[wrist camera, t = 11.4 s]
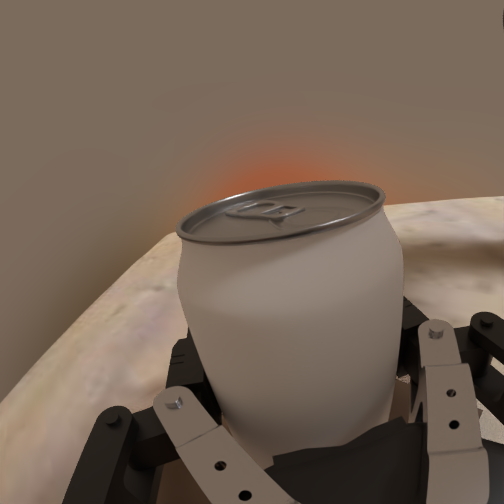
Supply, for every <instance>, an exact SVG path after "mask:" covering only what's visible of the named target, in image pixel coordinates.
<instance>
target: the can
mask: <svg viewBox="0 0 504 504" xmlns="http://www.w3.org/2000/svg"><path fill="white" fill-rule="evenodd" d="M385 198H386V197H385V193H384V191H383V190H382V189H381V188H379V187H377V186H375V185H372V184H368V183H363V182H356V181H338V180H335V181H334V180H333V181H311V182H301V183H293V184H286V185H279V186H273V187H268V188H263V189H259V190H254V191H249V192H245V193H241V194H238V195H234V196H231V197H228V198H224V199H221V200H218V201H216V202H213V203H210V204H208V205H205V206H203V207H201V208H199V209H197V210H195V211H193V212H191V213H189V214H187V215H186V216H185V217H183V218H182V219H181V220H180V221H179V222H178V223H177V225H176V233H177V235H178V236H179V237H180V238H181V239H182V252H181V258H180V263H179V269H178V277H177V288H178V293H179V298H180V301H181V305H182V308H183V311H184V314H185V318H186V321H187V323H188V326H189V329H190V332H191V335H192V338H193V341H194V343H195V346H196V349H197V352H198V354H199V357H200V360H201V362H202V365H203V367H204V370H205V372H206V375H207V378H208V380H209V383H210V385H211V388H212V390H213V392H214V395H215V397H216V400H217V402H218V404H219V407H220V409H221V411H222V414H223V416H224V418H225V421H226V423H227V425H228V427H229V430H230V432H231V434H232V436H233V438H234V439H235V440H236V441H237V443H238V444H239V445H240V446H241V447H242V448H243V449H244V450H245V451H246V452H247V454H248V455H249V456H250V457H251V458H252V459H253V460H254V461H255V462H256V463H257V464H258V465H259V466H260V467H261V468H262V469H263V470H264V469H266V468H268V467H270V466H272V465H274V463H273V458H272V456H275V455H280V454H284V453H289V452H293V451H297V450H301V449H305V448H319V447H332V446H341V445H344V444H346V443H348V442H350V441H351V440H353V439H355V438H357V437H358V436H360V435H361V434H363V433H365V432H366V431H368V430H369V429H371V428H373V427H375V426H378V425H380V424H383V423H385V422H388V418H389V414H390V408H391V403H392V398H393V392H394V386H395V379H396V372H397V365H398V357H399V348H400V338H401V327H402V313H403V289H404V264H403V253H402V248H401V245H400V242H399V240H398V238H397V236H396V234H395V232H394V230H393V228H392V226H391V224H390V222H389V221H388V219H387V217H386V215H385V212H384V209H383V204H384V202H385Z"/></svg>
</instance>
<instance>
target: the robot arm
mask: <svg viewBox="0 0 504 504" xmlns="http://www.w3.org/2000/svg"><path fill="white" fill-rule="evenodd" d="M503 26H504V13H503ZM493 357H494V358H496V359H497V360H498V361H499V362H501V363H502V364H503V365H504V320H503V319H502V318H500V317H499V316H497V315H495V314H493V313H490V312H479V313H476V314H474V315H473V316H472V318H471V321H470V326H466V327H460V328H453V327H452V326H451V325H450V324H449V323H447V322H445V321H443V320H429V319H428V318H427V317H426V316H425V315H424V314H423V313H422V312H421V311H420V310H419V309H418V308H417V307H415V306H414V305H413V304H412V303H411V302H410V301H409V300H407V298H405V297H404V296H403V313H402V327H401V338H400V348H399V357H398V365H397V372H396V375H397V376H398V378H400V377H402V376H405V375H407V374H409V376H410V377H411V378H410V384H409V421H408V423H406V422H405V420H404V419H403V417H402V416H400V417H398V418H395V419H393V420H390V421H388V422H385V423H383V424H380V425H378V426H375V427H373V428H371V429H369V430H368V431H366V432H365V433H363V434H361V435H360V436H358V437H357V438H355V439H353V440H351V441H350V442H348V443H346V444H344V445H341V446H332V447H319V448H305V449H301V450H297V451H293V452H289V453H284V454H280V455H275V456H272V458H273V463H274V465H272V466H270V467H268V468H266V469H264V470H263V469H262V468H261V467H260V466H259V465H258V464H257V463H256V462H255V461H254V460H253V459H252V458H251V457H250V456H249V455H248V454H247V452H246V451H245V450H244V449H243V448H242V447H241V446H240V445H239V444H238V443H237V441H236V440H235V439H234V438H233V437H232V436H231V435H230V434H229V432H228V431H227V430H226V429H225V428H224V427H223V426H222V411H221V409H220V407H219V404H218V402H217V400H216V397H215V395H214V392H213V390H212V388H211V385H210V383H209V380H208V378H207V375H206V372H205V370H204V367H203V365H202V362H201V360H200V357H199V354H198V352H197V349H196V346H195V343H194V341H193V338H192V335H191V332H190V329H189V326H188V333H187V338H184V339H179V340H178V341H177V343H176V344H175V345H174V347H173V349H172V354H171V360H170V365H169V371H168V376H167V382H166V388H165V390H163V391H162V392H160V393H159V394H158V395H157V396H156V398H155V399H154V402H153V406H152V407H150V408H148V409H145V410H142V411H139V412H136V413H133V414H132V413H131V412H130V410H129V409H128V408H126V407H123V406H113V407H110V408H108V409H106V410H104V411H103V412H102V413H101V414H100V415H99V416H98V418H97V420H96V422H95V424H94V426H93V429H92V431H91V433H90V435H89V438H88V440H87V442H86V445H85V447H84V449H83V452H82V454H81V456H80V459H79V461H78V464H77V466H76V469H75V471H74V474H73V476H72V479H71V481H70V484H69V486H68V489H67V491H66V494H65V497H64V499H63V502H62V504H156V501H157V496H158V491H159V486H160V481H161V477H162V472H163V467H164V464H166V463H169V462H172V461H175V460H178V459H180V458H181V459H182V461H183V462H184V464H185V465H186V467H187V468H188V470H189V471H190V473H191V474H192V476H193V477H194V479H195V480H196V482H197V483H198V485H199V486H200V488H201V489H202V491H203V492H204V493H205V495H206V496H207V498H208V499H209V500H210V502H211V503H212V504H504V444H501V443H497V442H493V441H490V440H486V439H483V438H481V431H480V423H479V416H478V409H477V403H476V398H477V399H478V400H479V401H480V402H481V403H482V404H483V405H484V406H485V407H486V408H487V409H488V410H489V411H490V412H491V413H492V414H493V415H494V416H495V417H496V418H497V419H498V420H499V421H500V422H501V423H502V424H503V425H504V375H502V374H501V373H500V372H499V371H498V370H496V369H495V368H494V367H493V366H492V365H490V364H491V361H492V358H493Z"/></svg>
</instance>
